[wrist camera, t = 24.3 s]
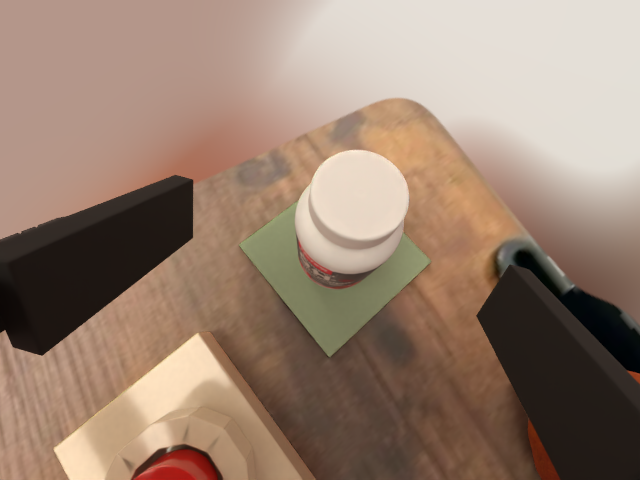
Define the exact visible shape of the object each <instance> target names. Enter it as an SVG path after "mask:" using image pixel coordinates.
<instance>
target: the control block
mask: <svg viewBox="0 0 640 480" xmlns="http://www.w3.org/2000/svg"><path fill="white" fill-rule="evenodd" d="M178 449H188V450H193V451H196V452H198V453H200V454H202V455H203V456H205V457H206V458H207V459H208V460H209V461H210V463H211V464H212V465H213V467H214V469H215V471H216V474H217V476H218V480H316V479H315V477H314V476H313V474H312V473H311V472H310V470H309V469H308V468H307V466H306V465H305V463H304V462H303V461H302V459H301V458H300V456H299V455H298V454H297V452H296V451H295V449H294V448H293V447H292V445H291V444H290V442H289V441H288V440H287V438H286V437H285V435H284V434H283V433H282V431H281V430H280V429H279V427H278V426H277V424H276V423H275V422H274V420H273V419H272V417H271V416H270V415H269V413H268V412H267V410H266V409H265V408H264V406H263V405H262V403H261V402H260V401H259V399H258V398H257V396H256V395H255V394H254V392H253V391H252V390H251V388H250V387H249V385H248V384H247V383H246V381H245V380H244V378H243V377H242V376H241V374H240V373H239V371H238V370H237V369H236V367H235V366H234V364H233V363H232V362H231V360H230V359H229V358H228V356H227V355H226V353H225V352H224V351H223V349H222V348H221V346H220V345H219V344H218V342H217V341H216V339H215V338H214V337H213V335H212V334H211V332H198V333H196V334H195V335H194V336H192V337H191V338H190V339H189V340H187V341H186V342H185V343H184V344H182V345H181V346H180V347H179V348H177V349H176V350H175V351H174V352H172V353H171V354H170V355H169V356H167V357H166V358H165V359H164V360H162V361H161V362H160V363H159V364H157V365H156V366H155V367H154V368H152V369H151V370H150V371H149V372H147V373H146V374H145V375H144V376H142V377H141V378H140V379H139V380H137V381H136V382H135V383H134V384H132V385H131V386H130V387H129V388H127V389H126V390H125V391H124V392H122V393H121V394H120V395H119V396H117V397H116V398H115V399H114V400H112V401H111V402H110V403H109V404H107V405H106V406H105V407H104V408H102V409H101V410H100V411H99V412H97V413H96V414H95V415H94V416H92V417H91V418H90V419H89V420H87V421H86V422H85V423H84V424H82V425H81V426H80V427H79V428H77V429H76V430H75V431H74V432H72V433H71V434H70V435H69V436H68V437H66V438H65V439H64V440H63V441H61V442H60V443H59V444H58V445H56V446H55V447H54V448H53V451H54V453H55V455H56V456H57V458H58V460H59V462H60V464H61V466H62V468H63V470H64V472H65V474H66V476H67V477H68V479H69V480H133V479H134V478H136V477H137V476H138V475H139V474H140V473H141V472H142V471H144V470H145V469H146V468H147V467H148V466H149V465H150V464H152V463H153V462H154V461H155V460H156V459H158V458H159V457H160V456H162V455H164V454H166V453H168V452H170V451H174V450H178Z"/></svg>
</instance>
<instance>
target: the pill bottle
mask: <svg viewBox="0 0 640 480" xmlns="http://www.w3.org/2000/svg"><path fill="white" fill-rule="evenodd" d="M408 207H409V191H408V187H407V183H406V181H405V179H404V177H403V175H402V174H401V172H400V171H399V169H398V168H397V167H396V166H395V165H394V164H393V163H392V162H390V161H389V160H388V159H386V158H384V157H383V156H381V155H378V154H376V153H373V152H370V151H365V150H349V151H343V152H340V153H337V154H335V155H333V156H331V157H330V158H328V159H327V160H325V161H324V162H323V163H322V164H321V165H320V166H319V168H318V169H317V171H316V172H315V174H314V176H313V179H312V182H311V184H310V185H309V186H308V187H307V188H306V189H305V190H304V192H303V193H302V195H301V197H300V199H299V201H298V204H297V207H296V212H295V230H296V239H297V250H298V257H299V262H300V265H301V267H302V269H303V271H304V272H305V274H306V275H307V276H308V278H309V279H311V280H312V281H313V282H314V283H316V284H317V285H319V286H321V287H324V288H327V289H333V290H340V289H346V288H349V287H352V286H354V285H356V284H357V283H359V282H361V281H362V280H363V279H364V278H366V277H367V276H368V275H370V274H371V273H372V272H373V271H375V270H376V269H377V268H378V267H380V266H381V265H382V264H383V263H385V262H386V261H387V260H388V259H389V258H390V256H391V255H392V254H393V253H394V251H395V250H396V248H397V247H398V245H399V243H400V240H401V237H402V234H403V228H404V218H405V216H406V213H407V210H408Z"/></svg>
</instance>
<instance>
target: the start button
mask: <svg viewBox="0 0 640 480" xmlns="http://www.w3.org/2000/svg"><path fill="white" fill-rule="evenodd" d="M133 480H218V476H217V474H216V471H215V469H214V467H213V465H212V464H211V463H210V461H209V460H208V459H207V458H206V457H205V456H203V455H202V454H200V453H198V452H196V451H193V450H188V449H178V450H174V451H170V452H168V453H166V454H164V455H162V456H160V457H159V458H158V459H156V460H155V461H154V462H153V463H152V464H150V465H149V466H148V467H147V468H146V469H145V470H144V471H142V472H141V473H140V474H139V475H138V476H137V477H136V478H134V479H133Z"/></svg>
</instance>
